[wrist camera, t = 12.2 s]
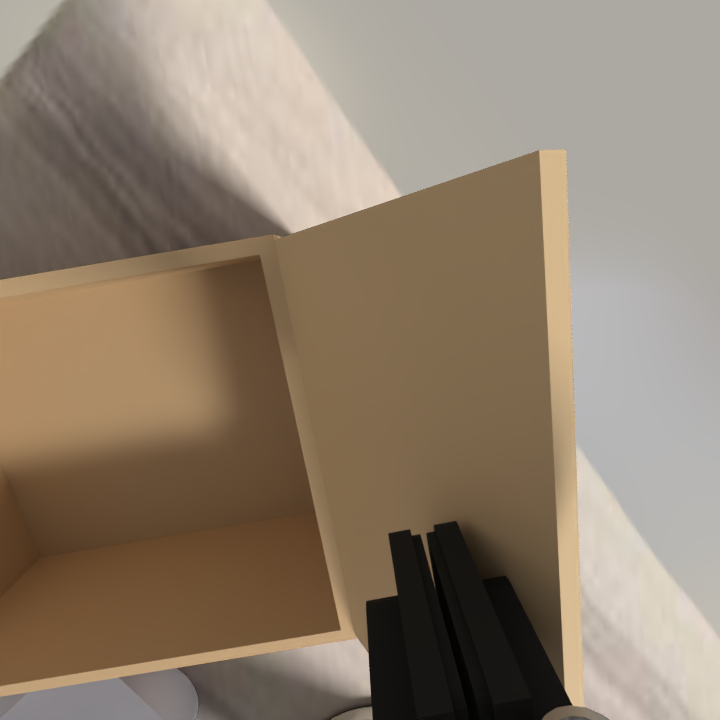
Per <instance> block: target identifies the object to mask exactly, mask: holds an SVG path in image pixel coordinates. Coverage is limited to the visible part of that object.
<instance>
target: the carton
mask: <svg viewBox="0 0 720 720" xmlns="http://www.w3.org/2000/svg"><path fill="white" fill-rule="evenodd" d="M279 238H282V237H281V236H277V235H274V234H271V235H265V236H259V237H253V238H247V239H241V240H235V241H229V242H223V243H217V244H211V245H205V246H199V247H193V248H187V249H181V250H175V251H169V252H163V253H157V254H151V255H145V256H139V257H133V258H127V259H121V260H115V261H109V262H103V263H97V264H92V265H86V266H80V267H74V268H68V269H62V270H56V271H50V272H44V273H38V274H32V275H26V276H20V277H14V278H8V279H2V280H0V697H2V696H8V695H14V694H21V693H27V692H33V691H39V690H45V689H51V688H57V687H63V686H69V685H76V684H82V683H88V682H94V681H100V680H106V679H112V678H118V677H124V676H131V675H137V674H143V673H149V672H155V671H161V670H167V669H173V668H179V667H185V666H192V665H198V664H204V663H210V662H216V661H222V660H228V659H234V658H240V657H247V656H253V655H259V654H265V653H271V652H277V651H283V650H289V649H295V648H302V647H308V646H314V645H320V644H326V643H332V642H338V641H344V640H350V639H356V635H355V630H354V625H353V621H352V616H351V611H350V606H349V601H348V596H347V591H346V587H345V582H344V577H343V572H342V567H341V562H340V557H339V553H338V548H337V543H336V538H335V533H334V528H333V523H332V519H331V514H330V509H329V504H328V499H327V494H326V489H325V485H324V480H323V475H322V470H321V465H320V460H319V455H318V451H317V446H316V441H315V436H314V431H313V426H312V421H311V417H310V412H309V407H308V402H307V397H306V392H305V387H304V383H303V378H302V373H301V368H300V363H299V358H298V353H297V349H296V344H295V339H294V334H293V329H292V324H291V319H290V315H289V310H288V305H287V300H286V295H285V290H284V285H283V281H282V276H281V271H280V266H279V261H278V256H277V251H276V247H275V242H274V240H276V239H279Z"/></svg>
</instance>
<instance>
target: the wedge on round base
mask: <svg viewBox="0 0 720 720" xmlns="http://www.w3.org/2000/svg"><path fill="white" fill-rule="evenodd" d="M197 711H198V696H197V692H196V690H195V688H194V686H193V684H192V683H191V681H190V680H189V679H188V678H187V676H186V675H185V674H183V673H182V672H181V671H180V670H178V669H177V668H173V669H167V670H161V671H155V672H149V673H143V674H137V675H131V676H124V677H118V678H112V679H106V680H100V681H94V682H88V683H82V684H76V685H69V686H63V687H57V688H51V689H45V690H39V691H33V692H27V693H21V694H14V695H8V696H2V697H0V720H195V718H196V715H197Z"/></svg>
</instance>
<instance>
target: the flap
mask: <svg viewBox="0 0 720 720" xmlns="http://www.w3.org/2000/svg"><path fill="white" fill-rule="evenodd" d="M568 226H569V224H568V195H567V163H566V150H565V149H564V150H539V151H536V152H533V153H530V154H527V155H524V156H521V157H518V158H515V159H512V160H509V161H506V162H503V163H500V164H497V165H495V166H491V167H488V168H485V169H483V170H480V171H477V172H474V173H471V174H468V175H465V176H462V177H459V178H456V179H453V180H450V181H447V182H444V183H441V184H438V185H435V186H432V187H429V188H426V189H423V190H421V191H417V192H415V193H412V194H409V195H406V196H403V197H400V198H397V199H394V200H391V201H388V202H385V203H382V204H379V205H376V206H373V207H370V208H367V209H364V210H361V211H358V212H355V213H352V214H349V215H347V216H344V217H341V218H338V219H335V220H332V221H329V222H326V223H323V224H320V225H317V226H314V227H311V228H308V229H305V230H302V231H299V232H296V233H293V234H290V235H287V236H284V237H282V238H279V239H276V240H274V242H275V247H276V251H277V256H278V261H279V266H280V271H281V276H282V281H283V285H284V290H285V295H286V300H287V305H288V310H289V315H290V319H291V324H292V329H293V334H294V339H295V344H296V349H297V353H298V358H299V363H300V368H301V373H302V378H303V383H304V387H305V392H306V397H307V402H308V407H309V412H310V417H311V421H312V426H313V431H314V436H315V441H316V446H317V451H318V455H319V460H320V465H321V470H322V475H323V480H324V485H325V489H326V494H327V499H328V504H329V509H330V514H331V519H332V523H333V528H334V533H335V538H336V543H337V548H338V553H339V557H340V562H341V567H342V572H343V577H344V582H345V587H346V591H347V596H348V601H349V606H350V611H351V616H352V621H353V625H354V630H355V635H356V636H357V638H358V639H359V641H360V642H361V643H362V645H363V646H364V648H365V649H366V650H367V652H368V653H369V651H368V635H367V618H366V601H369V600H374V599H380V598H385V597H391V596H396V595H398V594H397V587H396V581H395V575H394V568H393V562H392V555H391V549H390V543H389V536H388V533H392V532H397V531H403V530H408V529H410V530H411V534H412V535H417V534H420V535H421V538H422V542H423V545H424V549H425V553H426V556H427V560H428V564H429V567H430V571H431V575H432V578H433V572H432V566H431V560H430V554H429V548H428V542H427V536H426V533H429V532H434V525H436V524H441V523H446V522H452V521H457V523H458V525H459V528H460V530H461V532H462V535H463V537H464V539H465V542H466V544H467V547H468V549H469V551H470V554H471V556H472V558H473V561H474V563H475V565H476V568H477V570H478V572H479V575H480V577H481V580H484V579H490V578H495V577H500V576H506V577H507V578H508V580H509V581H510V583H511V585H512V587H513V589H514V591H515V593H516V595H517V597H518V598H519V600H520V602H521V604H522V606H523V608H524V610H525V612H526V614H527V616H528V618H529V620H530V622H531V624H532V626H533V628H534V630H535V632H536V634H537V636H538V638H539V640H540V642H541V644H542V646H543V648H544V650H545V652H546V654H547V656H548V658H549V660H550V662H551V663H552V665H553V667H554V669H555V671H556V673H557V675H558V677H559V679H560V681H561V683H562V685H563V687H564V689H565V691H566V693H567V695H568V697H569V699H570V701H571V703H572V705H573V706H578V707H584V686H583V656H582V625H581V594H580V563H579V532H578V502H577V471H576V440H575V411H574V410H575V409H574V378H573V350H572V317H571V287H570V255H569V227H568ZM433 582H434V578H433ZM434 586H435V584H434Z"/></svg>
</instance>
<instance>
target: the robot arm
mask: <svg viewBox="0 0 720 720" xmlns="http://www.w3.org/2000/svg"><path fill="white" fill-rule="evenodd" d="M388 536H389V543H390V549H391V555H392V562H393V568H394V575H395V581H396V587H397V594H398V595H396V596H391V597H385V598H380V599H374V600H369V601H366V618H367V635H368V651H369V667H370V684H371V700H372V706H371V707H363V708H358V709H354V710H351V711H347V712H345V713H342V714H340V715H338V716H336V717H334V718H332V719H331V720H609V719H608V718H606V717H605V716H603V715H602V714H599V713H597V712H595V711H593V710H590V709H588V708H585V707H578V706H573V705H572V703H571V701H570V699H569V697H568V695H567V693H566V691H565V689H564V687H563V685H562V683H561V681H560V679H559V677H558V675H557V673H556V671H555V669H554V667H553V665H552V663H551V662H550V660H549V658H548V656H547V654H546V652H545V650H544V648H543V646H542V644H541V642H540V640H539V638H538V636H537V634H536V632H535V630H534V628H533V626H532V624H531V622H530V620H529V618H528V616H527V614H526V612H525V610H524V608H523V606H522V604H521V602H520V600H519V598H518V597H517V595H516V593H515V591H514V589H513V587H512V585H511V583H510V581H509V580H508V578H507V577H506V576H500V577H495V578H490V579H484V580H481V577H480V575H479V572H478V570H477V568H476V565H475V563H474V561H473V558H472V556H471V554H470V551H469V549H468V547H467V544H466V542H465V539H464V537H463V535H462V532H461V530H460V528H459V525H458V523H457V521H452V522H446V523H441V524H436V525H434V532H429V533H426V536H427V542H428V548H429V554H430V560H431V566H432V572H433V578H434V582H433V578H432V575H431V571H430V567H429V564H428V560H427V556H426V553H425V549H424V545H423V542H422V538H421V535H420V534H417V535H412V534H411V530H410V529H408V530H403V531H397V532H392V533H388ZM434 584H435V586H434Z"/></svg>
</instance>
